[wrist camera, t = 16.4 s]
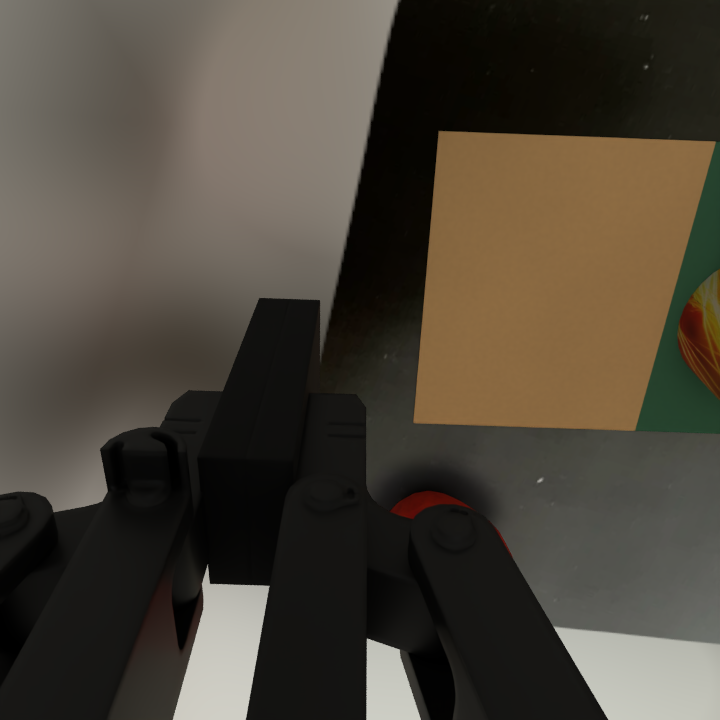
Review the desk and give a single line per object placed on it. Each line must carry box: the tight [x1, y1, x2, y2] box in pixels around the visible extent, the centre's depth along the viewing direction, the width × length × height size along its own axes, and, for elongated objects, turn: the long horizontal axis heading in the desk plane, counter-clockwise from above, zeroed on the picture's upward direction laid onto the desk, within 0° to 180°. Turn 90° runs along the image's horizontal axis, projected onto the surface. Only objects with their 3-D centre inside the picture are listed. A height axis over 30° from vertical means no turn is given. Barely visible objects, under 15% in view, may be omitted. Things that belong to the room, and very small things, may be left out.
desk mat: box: [413, 131, 720, 434], centre depth 42 cm, size 20×32×1 cm, turn 88°
